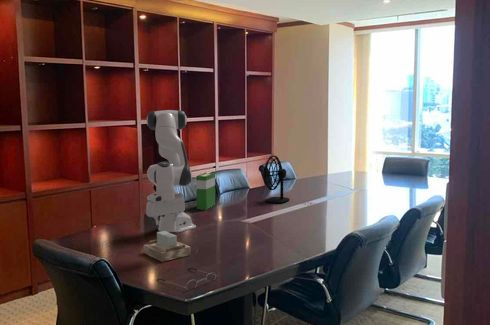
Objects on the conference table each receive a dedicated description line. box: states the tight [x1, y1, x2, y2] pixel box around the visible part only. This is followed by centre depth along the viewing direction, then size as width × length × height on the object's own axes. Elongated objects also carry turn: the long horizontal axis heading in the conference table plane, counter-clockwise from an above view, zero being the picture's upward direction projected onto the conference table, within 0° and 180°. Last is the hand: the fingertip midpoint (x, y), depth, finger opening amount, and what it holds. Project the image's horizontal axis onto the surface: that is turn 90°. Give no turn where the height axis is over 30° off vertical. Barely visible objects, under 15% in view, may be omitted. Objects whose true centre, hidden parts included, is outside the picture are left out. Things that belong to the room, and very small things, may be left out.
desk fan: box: [262, 155, 291, 204], centre depth 361 cm, size 27×18×35 cm, turn 150°
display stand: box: [142, 239, 192, 263], centre depth 234 cm, size 16×18×6 cm
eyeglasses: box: [156, 267, 218, 291], centre depth 199 cm, size 18×19×4 cm
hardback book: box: [195, 172, 216, 211], centre depth 340 cm, size 18×7×24 cm, turn 164°
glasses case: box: [156, 231, 178, 248], centre depth 234 cm, size 4×12×6 cm, turn 38°
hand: (166, 222), depth 233 cm, fingers open, 8 cm apart
